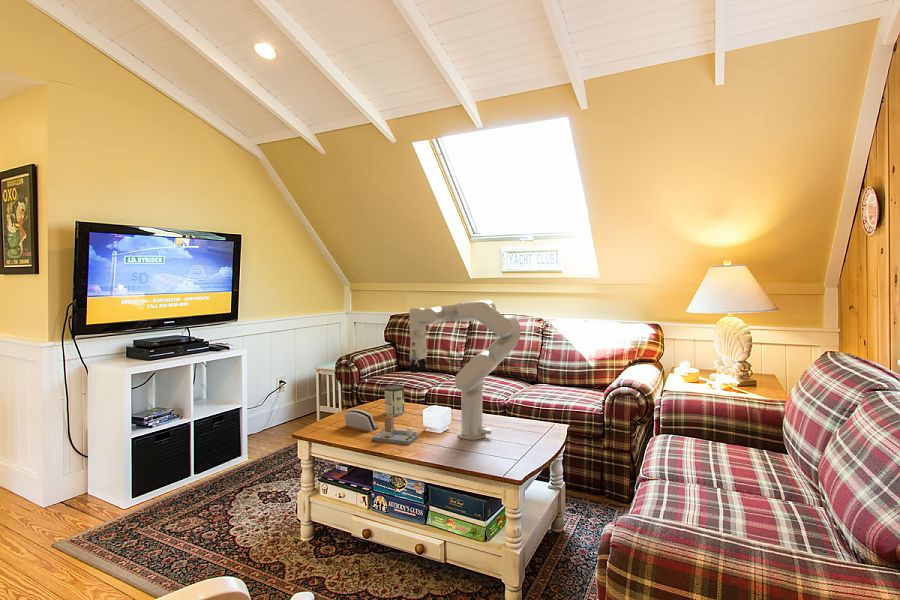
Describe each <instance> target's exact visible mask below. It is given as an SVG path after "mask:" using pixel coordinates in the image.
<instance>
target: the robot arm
mask: <svg viewBox="0 0 900 600" xmlns="http://www.w3.org/2000/svg"><path fill="white" fill-rule="evenodd" d="M408 313H409V317H408V318H409V339H410V342H409V343H410V345H409V362H410V363H409V364H410V373H412V374H413V373H414V374H417V373H418V370H419V369H420V370H426V367H427V366H426V365H427V363H426V360H427V356H428V347H427V346H428V345H427V328H426V327H427V325H434V324H439V323H446V322H453V321H454V322H460V323H462V322H463V323H465V322H473V321H478V322H479V323H481V324H482V325H483V327H484V326H485V327H486V328H487V329H488V330H490V331H491V332H492V333H493V334H495V335H497V336H498V337H497V338H496V339H495V340H494V341H493V342H492V343H491V344H490V345H489V346H488V347H486V348H485V350H483V351H481V352H480V353H479V352H478V353H477V354H476V355H475V356H473V357H472V358H471V359H470V360H469V361H468V362H467V363H466V364H465V365H464V366H463V367H462V368H461V369H460V371H458V372H457V373H456V375H455V377H454V384H455V386H456V388H457V389H458V390H459V391H461V394H460V395H461V396H460V398H461V399H460V401H461V402H460V403H461V404H460V406H461V407H460V408H461V409H460V410H461V416H460V417H461V425H460V426H461V430H460V431H458V432H457V436H458V437H459V438H460V439H464V440H467V441H468V440H470V441H473V440H474V441H475V440H476V441H477V440H481V439H484V438H485V437H487V435H492V429H490V428H486V427H485V425H484V424H483V392H484V391H483V388H484V379H485V378H486V377H487V376H488V375H489V374H490V373H492V372H493V371H494V370H495V369H496V368H497V367H498V365H500V363H502V362H503V361H504V360H505V359H506V357H507V356H509V354H510V353H512V352H513V350H514V349H515V348H516V347H517V345H518V344H519V341H520V338H521V333H522V331H521V330H522V328H521V325H520V322H519V320H518V319H517V318H516V317H515V316H514V315H510V314H506V315H504V314H502V313H501V312H499V311H498V310H497V307H496V304H495V303H494V302H493V301H491V300H489V299H484V300H475V301H467V302H458V303H457V304H452V305H451V304H450V305H441V306H433V307H427V308H424V307H412V308H410V309H409V312H408Z"/></svg>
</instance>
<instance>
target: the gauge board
mask: <svg viewBox="0 0 900 600" xmlns="http://www.w3.org/2000/svg"><path fill="white" fill-rule="evenodd" d="M395 429H396V434H394V435H393V436H391V437H385V438H383V436H382V432H383V431H384V430H385V427H382V428H381V431H380V432H378V433H376V434H375V435H374V436H372V438H371V441H373V442H382V443H389V444H398V445H407V446H410V445H411V444H412V443H414V442H416V440H418V439H419V434H418V431H417V430H413V428H412V427H406V429H401V428H400V429H399V428H395Z"/></svg>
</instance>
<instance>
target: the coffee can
mask: <svg viewBox="0 0 900 600" xmlns="http://www.w3.org/2000/svg"><path fill="white" fill-rule="evenodd" d="M384 408H385V410H384V415H386V416H394V417H398V416H403V415H404V414H405V386H404V385H400V384H390V385H386V386H384Z"/></svg>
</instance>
